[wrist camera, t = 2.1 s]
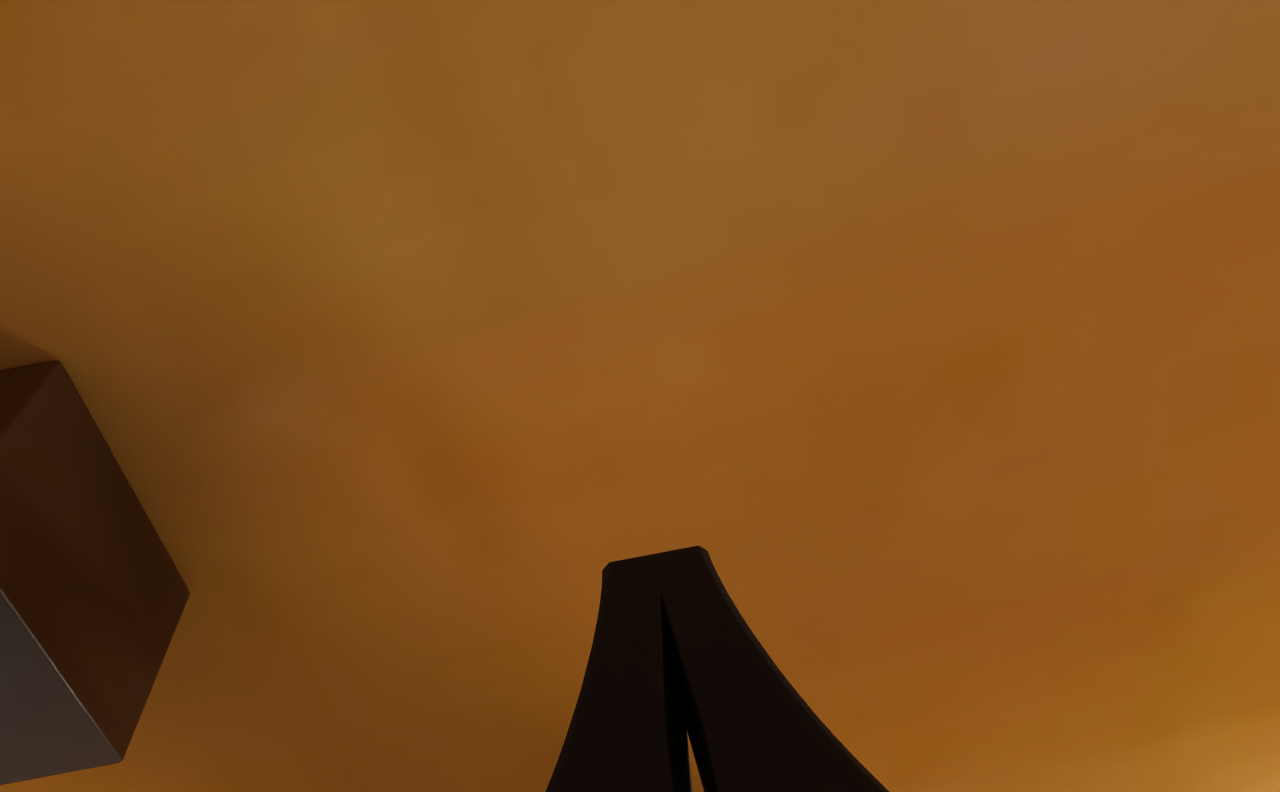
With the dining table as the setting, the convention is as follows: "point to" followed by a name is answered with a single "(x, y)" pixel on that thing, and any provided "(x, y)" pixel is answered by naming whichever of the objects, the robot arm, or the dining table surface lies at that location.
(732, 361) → the dining table surface
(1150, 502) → the dining table surface
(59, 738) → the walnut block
